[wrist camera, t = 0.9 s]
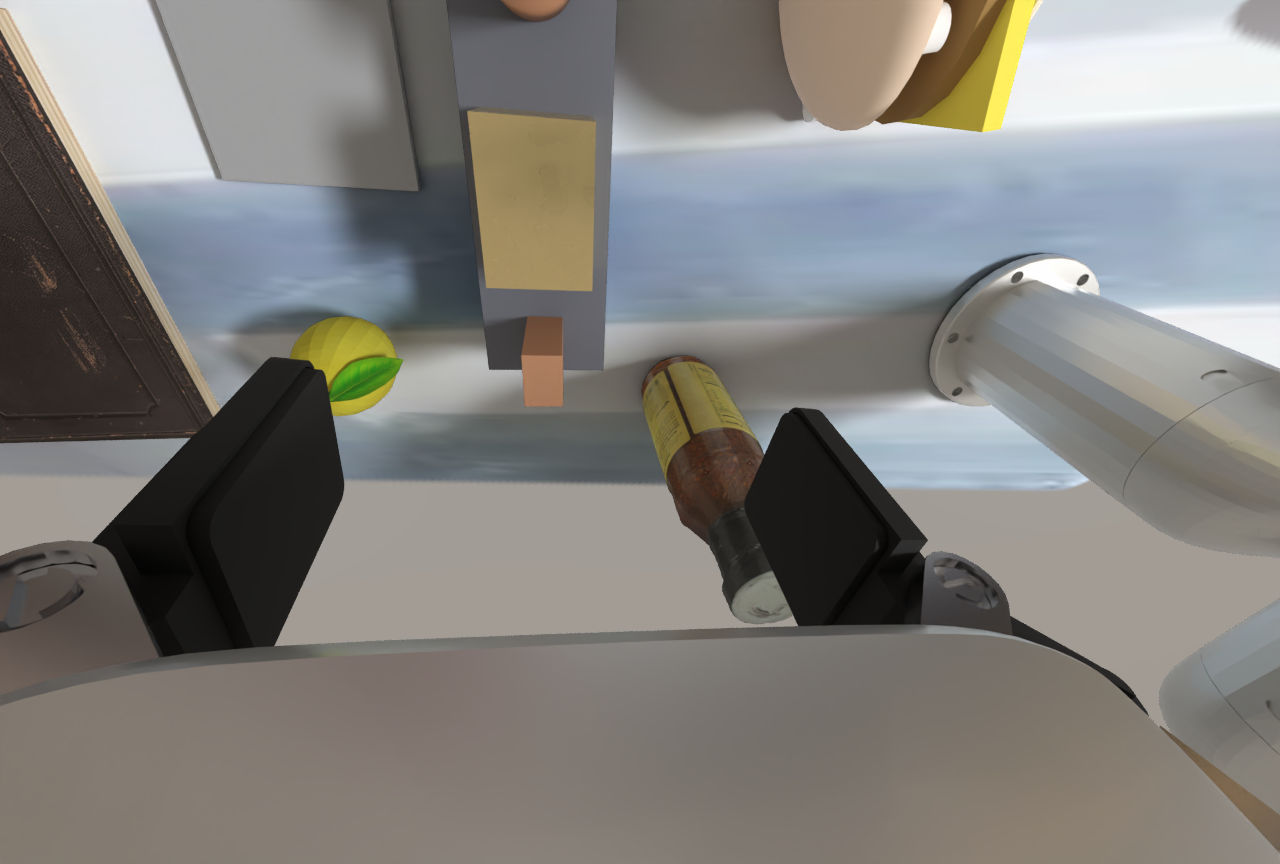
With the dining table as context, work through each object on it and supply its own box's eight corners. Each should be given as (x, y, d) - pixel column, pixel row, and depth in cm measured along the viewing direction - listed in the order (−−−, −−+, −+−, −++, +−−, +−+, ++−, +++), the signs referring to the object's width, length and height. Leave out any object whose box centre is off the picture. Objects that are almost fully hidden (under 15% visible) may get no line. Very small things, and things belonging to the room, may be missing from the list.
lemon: (306, 361, 33) (223, 451, 25) (312, 282, 30) (220, 355, 22) (410, 390, 35) (364, 481, 27) (425, 319, 33) (379, 397, 25)
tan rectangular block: (591, 116, 23) (596, 121, 20) (589, 266, 27) (592, 291, 24) (481, 106, 22) (467, 111, 19) (495, 262, 26) (486, 287, 23)
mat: (381, -50, 22) (377, -53, 22) (421, 189, 28) (418, 191, 28) (133, -82, 21) (123, -85, 20) (228, 178, 27) (222, 180, 26)
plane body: (610, -59, 23) (635, -132, 15) (598, 337, 35) (609, 413, 27) (457, -79, 22) (395, -171, 14) (498, 335, 34) (477, 414, 26)
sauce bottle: (660, 431, 40) (722, 660, 24) (624, 374, 37) (671, 598, 21) (732, 396, 39) (847, 612, 23) (703, 334, 36) (815, 538, 20)
